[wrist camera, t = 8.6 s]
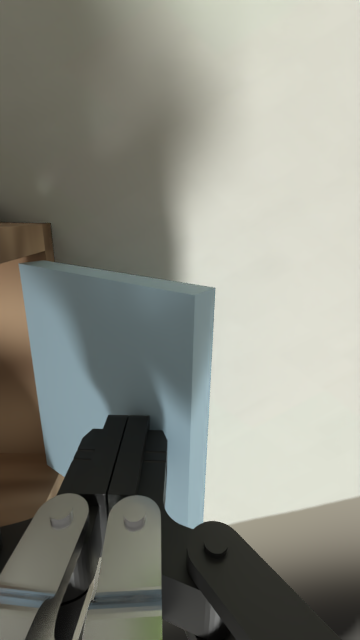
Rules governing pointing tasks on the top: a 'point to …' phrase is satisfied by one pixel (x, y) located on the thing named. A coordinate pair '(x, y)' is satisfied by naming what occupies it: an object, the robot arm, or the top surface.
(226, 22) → the top surface
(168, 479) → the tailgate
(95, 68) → the top surface
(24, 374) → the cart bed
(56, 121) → the top surface
